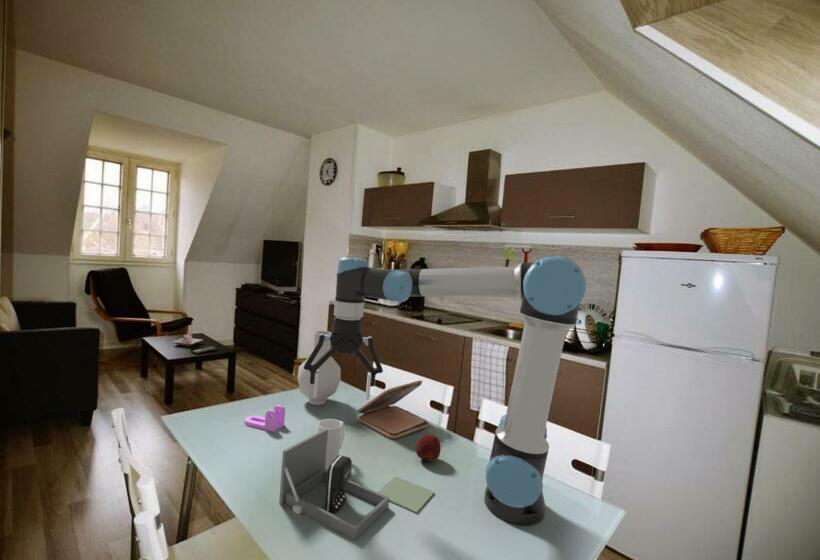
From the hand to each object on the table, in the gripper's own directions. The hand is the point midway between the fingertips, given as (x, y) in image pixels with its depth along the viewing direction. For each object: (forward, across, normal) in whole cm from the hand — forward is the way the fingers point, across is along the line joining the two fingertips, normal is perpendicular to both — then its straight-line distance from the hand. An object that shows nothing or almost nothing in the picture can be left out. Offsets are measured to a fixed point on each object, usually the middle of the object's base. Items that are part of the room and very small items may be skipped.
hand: (341, 397), depth 104 cm
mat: (+23, -18, +6) cm, 30 cm away
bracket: (+23, +25, -33) cm, 47 cm away
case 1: (+23, -1, +10) cm, 25 cm away
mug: (+23, +1, -9) cm, 25 cm away
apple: (+23, -28, -11) cm, 38 cm away
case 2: (+24, -20, -37) cm, 48 cm away
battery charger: (+23, -1, +10) cm, 25 cm away
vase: (+23, +8, -54) cm, 60 cm away
